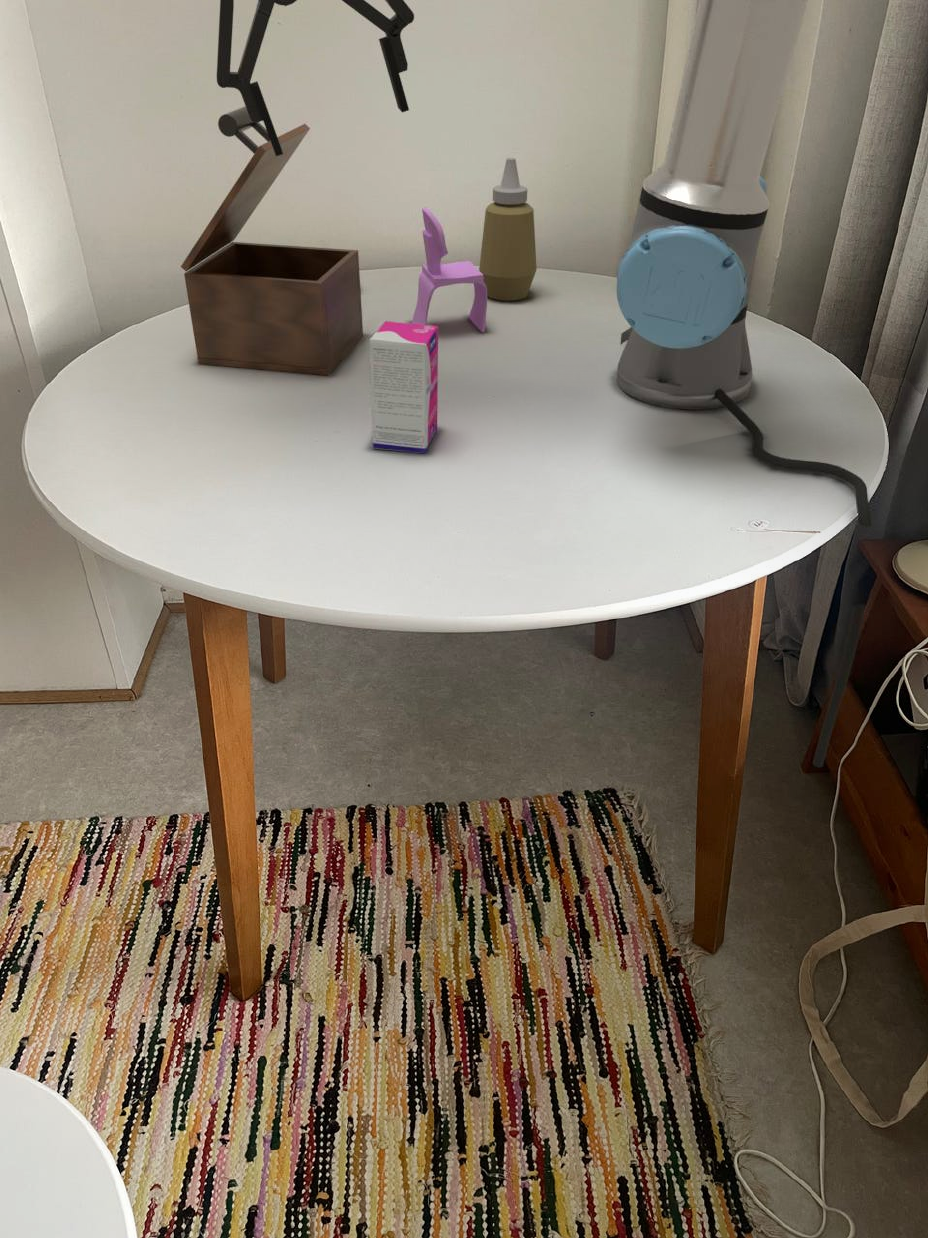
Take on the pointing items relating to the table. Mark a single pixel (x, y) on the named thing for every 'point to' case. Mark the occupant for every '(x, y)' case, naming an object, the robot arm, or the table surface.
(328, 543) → the table surface
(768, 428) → the table surface
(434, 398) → the supplement box
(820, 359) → the table surface
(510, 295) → the squeeze bottle
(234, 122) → the lid
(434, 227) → the toy chair
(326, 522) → the table surface
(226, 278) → the chest
